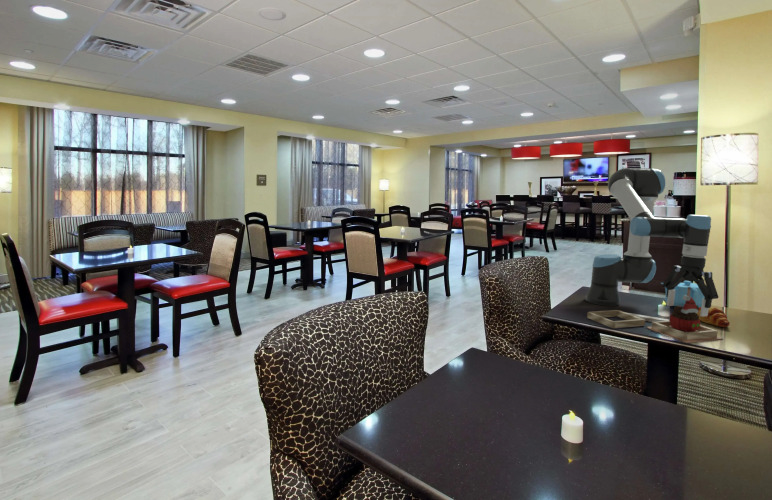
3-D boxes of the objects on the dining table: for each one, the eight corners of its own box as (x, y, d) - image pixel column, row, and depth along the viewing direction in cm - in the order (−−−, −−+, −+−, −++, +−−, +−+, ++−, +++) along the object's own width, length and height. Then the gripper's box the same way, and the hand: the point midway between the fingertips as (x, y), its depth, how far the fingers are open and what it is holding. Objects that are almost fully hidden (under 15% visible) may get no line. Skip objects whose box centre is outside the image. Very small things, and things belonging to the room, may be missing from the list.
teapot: (687, 304, 210) (691, 278, 208) (708, 313, 195) (712, 285, 193) (649, 302, 212) (652, 276, 210) (666, 310, 197) (670, 283, 195)
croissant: (688, 321, 193) (681, 305, 193) (710, 312, 192) (703, 296, 191) (719, 336, 172) (711, 319, 172) (744, 326, 171) (737, 309, 170)
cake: (682, 327, 171) (689, 283, 168) (705, 335, 162) (712, 289, 159) (661, 328, 168) (667, 284, 166) (682, 337, 159) (689, 290, 157)
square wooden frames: (587, 317, 182) (587, 311, 182) (645, 313, 191) (646, 307, 191) (656, 346, 151) (657, 338, 150) (722, 339, 160) (723, 331, 159)
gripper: (656, 251, 171) (650, 302, 175) (720, 262, 148) (711, 321, 151) (671, 250, 174) (664, 301, 177) (736, 261, 150) (727, 319, 153)
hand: (686, 310), depth 164 cm, fingers open, 13 cm apart
